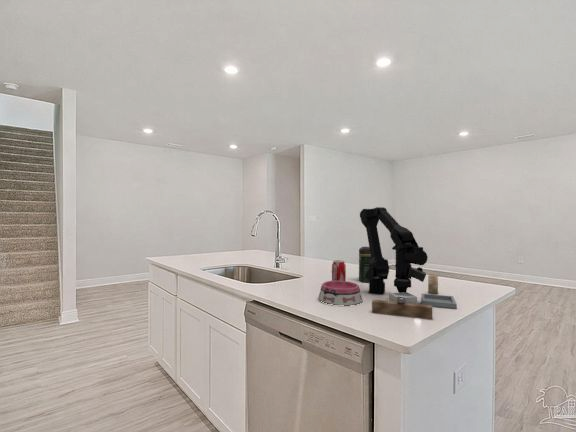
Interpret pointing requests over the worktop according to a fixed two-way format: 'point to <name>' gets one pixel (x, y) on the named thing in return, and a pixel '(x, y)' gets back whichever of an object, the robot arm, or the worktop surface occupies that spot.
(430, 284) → the dowel
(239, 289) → the worktop surface
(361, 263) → the coffee jar
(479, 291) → the worktop surface
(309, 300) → the worktop surface
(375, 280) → the robot arm
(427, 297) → the tray
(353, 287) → the dog bowl
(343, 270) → the soda can
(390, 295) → the small box
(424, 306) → the stop rail
